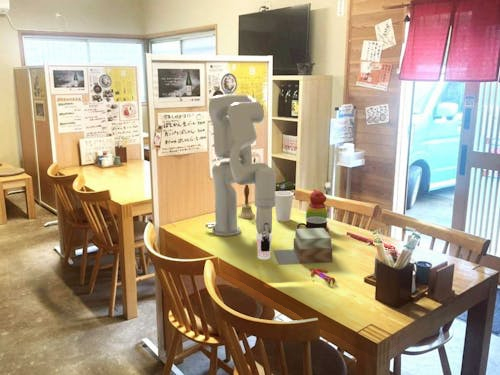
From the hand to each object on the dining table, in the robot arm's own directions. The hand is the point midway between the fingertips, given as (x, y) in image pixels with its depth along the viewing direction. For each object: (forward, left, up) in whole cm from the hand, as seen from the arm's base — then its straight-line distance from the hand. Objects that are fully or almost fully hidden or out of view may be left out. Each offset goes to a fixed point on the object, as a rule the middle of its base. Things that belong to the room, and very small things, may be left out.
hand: (264, 247), depth 169 cm
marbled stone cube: (+18, -1, -4) cm, 19 cm away
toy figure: (+17, -18, -6) cm, 25 cm away
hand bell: (-2, +55, -5) cm, 56 cm away
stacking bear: (+28, +33, -5) cm, 44 cm away
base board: (+14, -1, -5) cm, 15 cm away
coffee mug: (+22, +16, -5) cm, 28 cm away
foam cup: (+15, +48, -5) cm, 51 cm away
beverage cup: (0, 0, -4) cm, 4 cm away
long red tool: (+45, +13, -6) cm, 48 cm away
